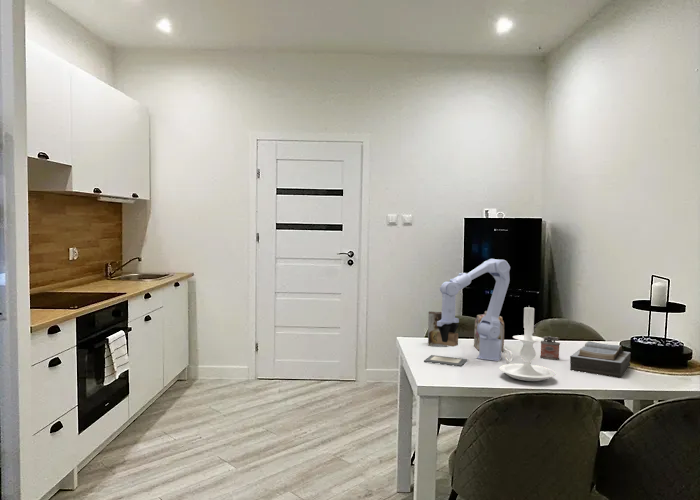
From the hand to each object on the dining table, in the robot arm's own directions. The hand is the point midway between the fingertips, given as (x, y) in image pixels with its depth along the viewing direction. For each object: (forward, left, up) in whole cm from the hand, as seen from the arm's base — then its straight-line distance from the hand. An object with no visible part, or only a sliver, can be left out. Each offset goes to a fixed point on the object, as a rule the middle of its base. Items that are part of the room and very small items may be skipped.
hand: (447, 341), depth 233 cm
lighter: (-40, -26, -9) cm, 49 cm away
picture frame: (0, +2, -8) cm, 9 cm away
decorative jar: (-12, -33, -9) cm, 36 cm away
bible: (-61, -19, -9) cm, 64 cm away
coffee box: (+12, -29, -9) cm, 33 cm away
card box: (0, 0, -1) cm, 1 cm away
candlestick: (-33, +12, -9) cm, 36 cm away
